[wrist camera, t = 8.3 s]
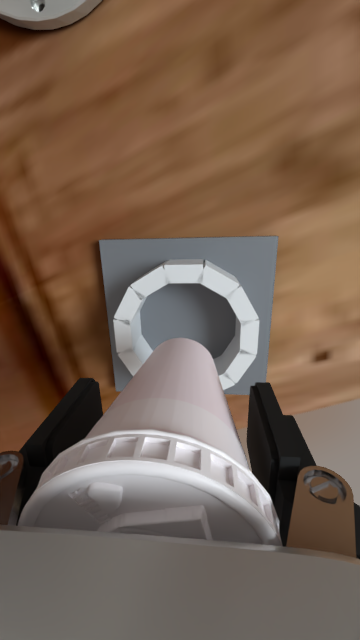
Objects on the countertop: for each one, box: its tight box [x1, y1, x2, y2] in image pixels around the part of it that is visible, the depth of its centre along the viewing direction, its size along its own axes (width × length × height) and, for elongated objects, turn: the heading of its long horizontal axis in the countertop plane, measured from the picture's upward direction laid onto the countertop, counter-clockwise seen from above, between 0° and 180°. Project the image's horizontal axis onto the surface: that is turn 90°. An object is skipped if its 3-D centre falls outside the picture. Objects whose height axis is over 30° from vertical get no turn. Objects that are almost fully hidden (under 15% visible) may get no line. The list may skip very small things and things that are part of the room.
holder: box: [99, 236, 278, 395], centre depth 21 cm, size 13×13×4 cm
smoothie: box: [18, 338, 282, 546], centre depth 9 cm, size 6×6×14 cm
